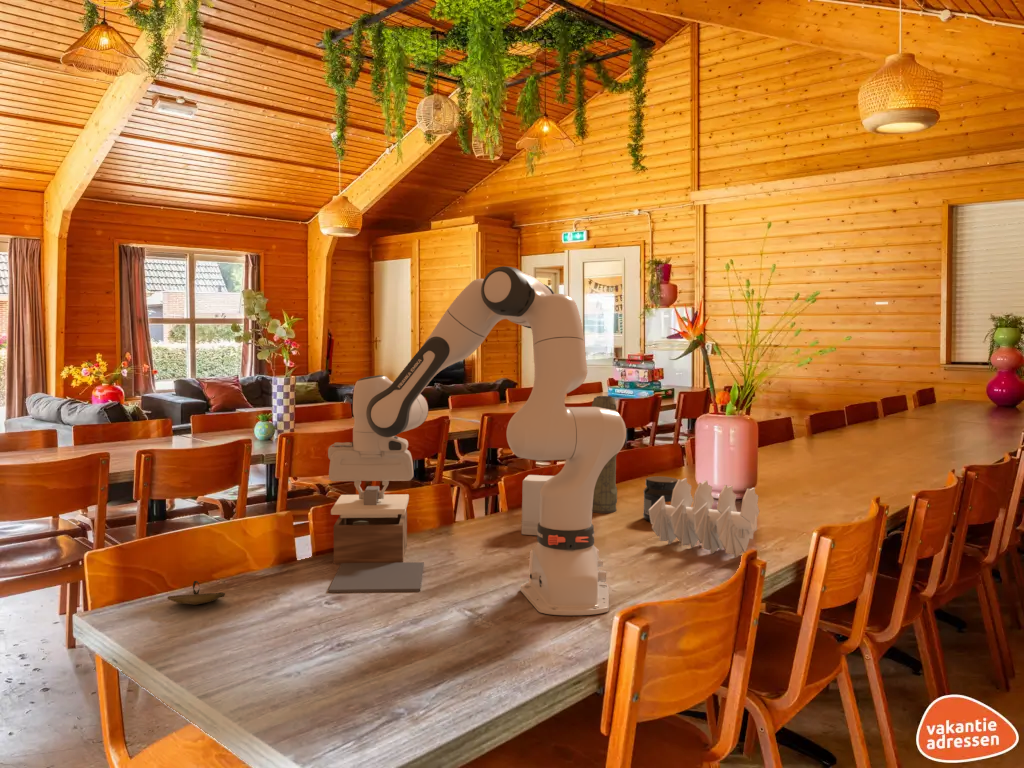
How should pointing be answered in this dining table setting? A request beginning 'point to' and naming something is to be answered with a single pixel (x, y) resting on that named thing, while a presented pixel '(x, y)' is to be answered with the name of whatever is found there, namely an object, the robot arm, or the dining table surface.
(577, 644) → the dining table surface
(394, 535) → the crate
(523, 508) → the supplement box
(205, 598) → the lid
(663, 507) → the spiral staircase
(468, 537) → the dining table surface
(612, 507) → the thermos
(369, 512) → the lid panel
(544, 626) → the dining table surface
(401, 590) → the mat
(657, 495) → the supplement container
